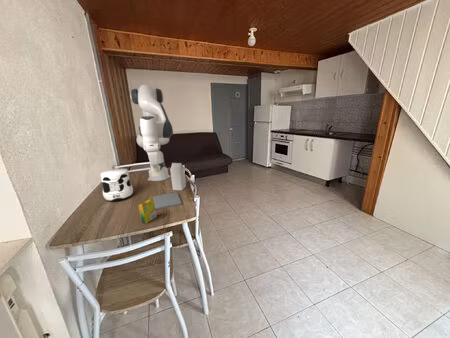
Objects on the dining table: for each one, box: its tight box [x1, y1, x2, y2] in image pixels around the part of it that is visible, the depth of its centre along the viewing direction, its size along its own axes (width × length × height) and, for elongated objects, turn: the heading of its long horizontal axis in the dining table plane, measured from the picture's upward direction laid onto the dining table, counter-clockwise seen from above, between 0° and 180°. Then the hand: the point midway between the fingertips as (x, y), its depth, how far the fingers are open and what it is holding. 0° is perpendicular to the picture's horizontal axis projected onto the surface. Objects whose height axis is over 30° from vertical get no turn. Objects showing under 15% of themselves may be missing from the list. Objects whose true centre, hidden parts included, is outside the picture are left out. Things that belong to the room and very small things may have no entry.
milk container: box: [100, 168, 134, 202], centre depth 123 cm, size 17×17×18 cm
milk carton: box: [169, 162, 187, 191], centre depth 134 cm, size 7×7×19 cm
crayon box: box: [138, 196, 158, 225], centre depth 94 cm, size 7×3×12 cm, turn 155°
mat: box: [148, 191, 182, 211], centre depth 116 cm, size 18×18×1 cm
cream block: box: [149, 162, 160, 177], centre depth 109 cm, size 4×4×8 cm
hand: (155, 169), depth 109 cm, fingers closed on cream block, 4 cm apart
